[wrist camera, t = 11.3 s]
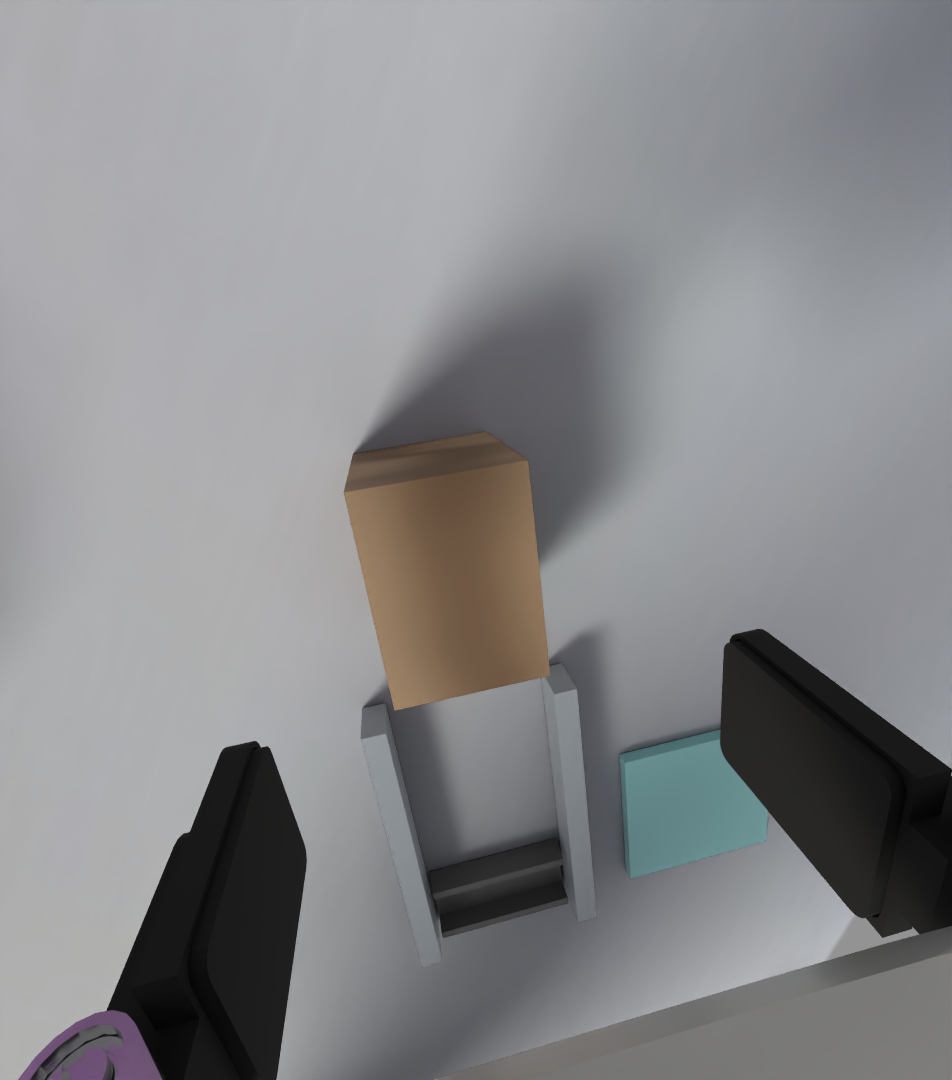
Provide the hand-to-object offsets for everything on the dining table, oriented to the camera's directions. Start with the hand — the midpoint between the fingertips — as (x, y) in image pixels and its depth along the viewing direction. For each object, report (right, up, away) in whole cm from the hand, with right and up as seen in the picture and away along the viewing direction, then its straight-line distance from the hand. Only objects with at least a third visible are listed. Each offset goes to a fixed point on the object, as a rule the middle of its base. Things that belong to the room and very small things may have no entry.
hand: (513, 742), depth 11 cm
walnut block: (-2, +5, +10) cm, 12 cm away
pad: (+11, -9, +18) cm, 23 cm away
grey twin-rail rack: (0, -9, +15) cm, 18 cm away
